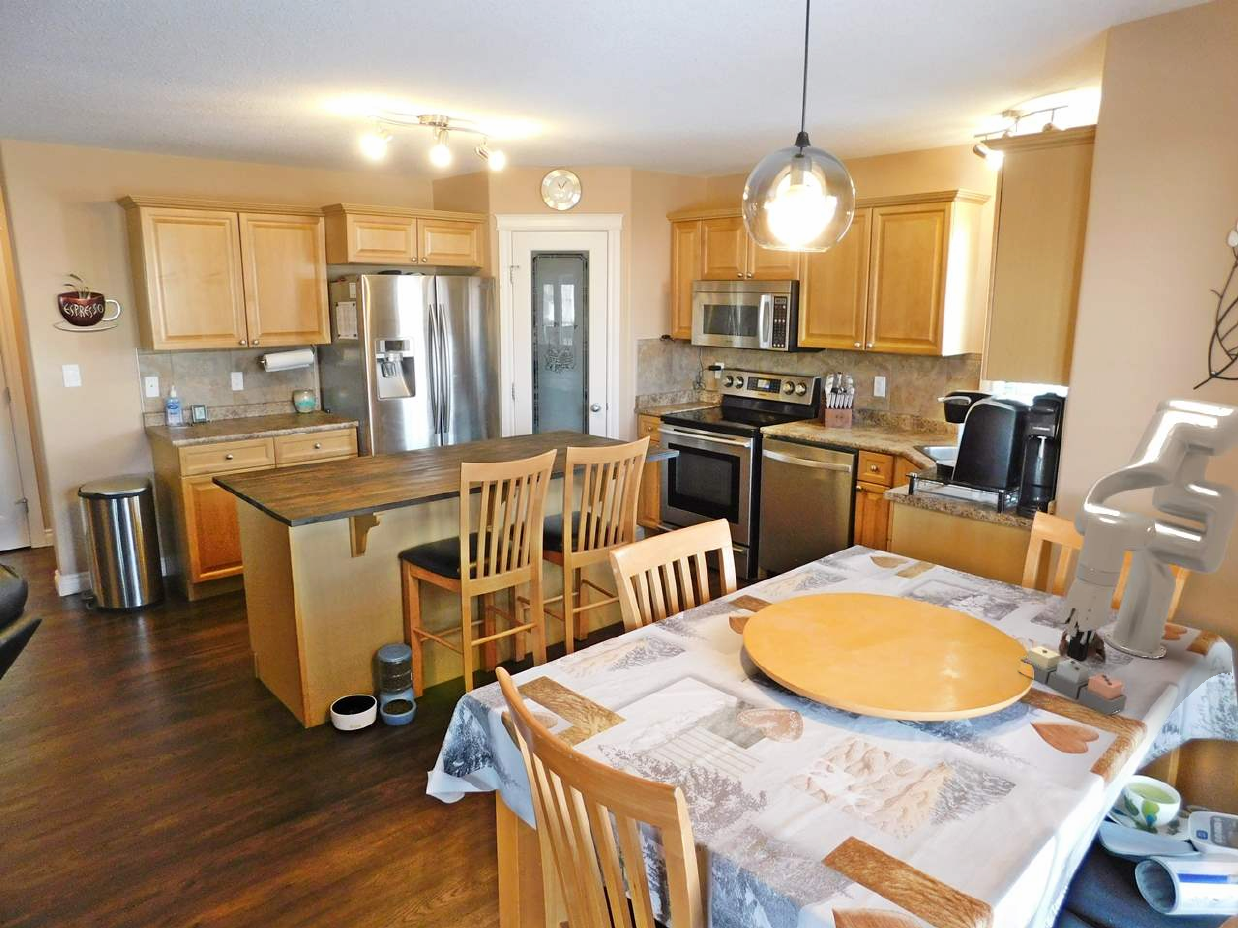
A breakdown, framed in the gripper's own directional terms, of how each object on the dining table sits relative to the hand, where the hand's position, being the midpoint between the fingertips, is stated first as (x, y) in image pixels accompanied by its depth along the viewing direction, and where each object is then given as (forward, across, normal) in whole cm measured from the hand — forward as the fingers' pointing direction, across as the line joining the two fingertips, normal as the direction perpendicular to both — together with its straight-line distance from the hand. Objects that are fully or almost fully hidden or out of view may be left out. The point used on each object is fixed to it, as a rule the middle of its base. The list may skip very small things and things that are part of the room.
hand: (1075, 658), depth 166 cm
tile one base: (+7, -1, -7) cm, 10 cm away
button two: (+6, -1, 0) cm, 6 cm away
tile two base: (+7, -1, 0) cm, 7 cm away
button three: (+6, -1, +6) cm, 9 cm away
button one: (+6, -1, -7) cm, 9 cm away
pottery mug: (+7, -20, -9) cm, 23 cm away
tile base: (+7, -1, +6) cm, 10 cm away
